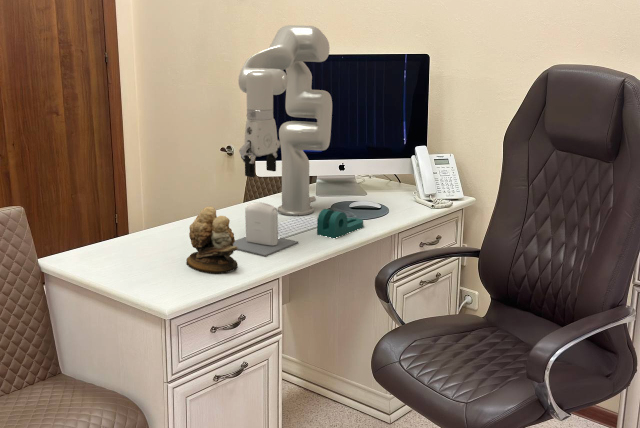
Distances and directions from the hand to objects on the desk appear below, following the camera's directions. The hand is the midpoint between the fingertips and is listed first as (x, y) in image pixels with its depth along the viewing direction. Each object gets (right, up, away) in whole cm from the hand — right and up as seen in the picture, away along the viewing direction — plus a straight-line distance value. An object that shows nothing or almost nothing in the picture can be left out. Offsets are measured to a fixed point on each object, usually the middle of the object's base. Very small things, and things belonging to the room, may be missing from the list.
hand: (260, 173), depth 215 cm
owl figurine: (-12, -26, -12) cm, 31 cm away
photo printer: (0, -21, +6) cm, 22 cm away
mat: (0, -21, +6) cm, 22 cm away
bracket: (+25, -17, +22) cm, 37 cm away
